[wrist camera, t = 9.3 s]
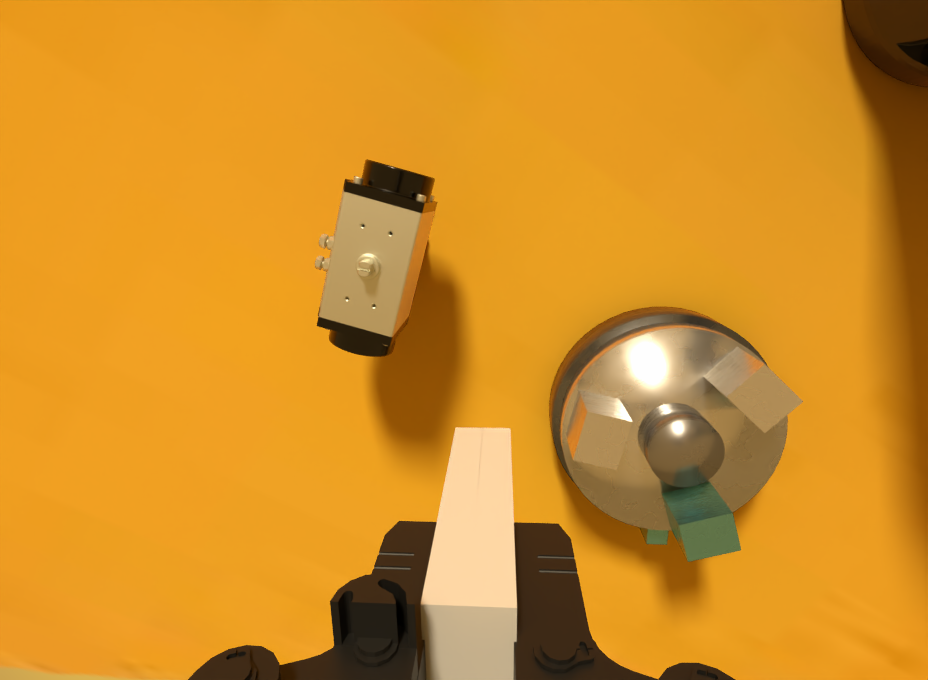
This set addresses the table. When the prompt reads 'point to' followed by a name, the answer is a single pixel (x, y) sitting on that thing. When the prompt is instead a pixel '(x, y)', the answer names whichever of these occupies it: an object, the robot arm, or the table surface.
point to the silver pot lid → (602, 336)
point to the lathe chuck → (675, 431)
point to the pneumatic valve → (375, 258)
